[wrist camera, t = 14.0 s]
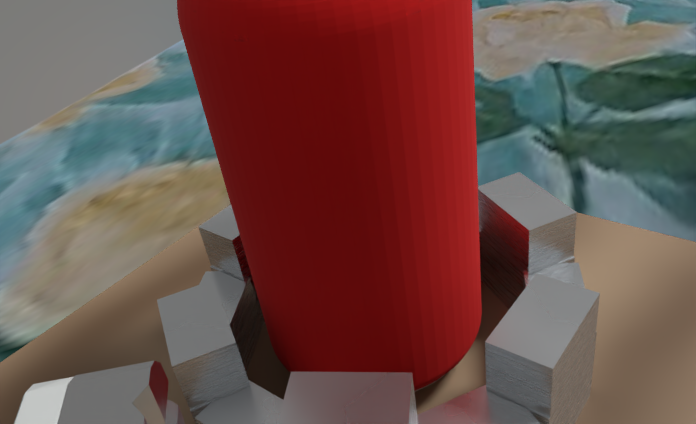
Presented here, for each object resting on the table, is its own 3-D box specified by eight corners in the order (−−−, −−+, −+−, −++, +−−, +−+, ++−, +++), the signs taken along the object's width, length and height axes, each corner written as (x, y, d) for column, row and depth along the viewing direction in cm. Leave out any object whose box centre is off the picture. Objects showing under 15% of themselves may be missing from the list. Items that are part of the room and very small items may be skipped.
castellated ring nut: (641, 299, 19) (656, 201, 17) (455, 642, 12) (445, 541, 10) (351, 209, 25) (337, 130, 23) (121, 400, 18) (76, 311, 16)
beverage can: (463, 263, 21) (443, -139, 15) (504, 413, 16) (500, -105, 10) (284, 284, 22) (187, -99, 15) (267, 437, 16) (109, -45, 10)
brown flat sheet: (850, 322, 19) (865, 284, 18) (674, 1217, 8) (695, 1222, 7) (318, 174, 31) (313, 147, 30) (-47, 442, 20) (-71, 411, 19)
